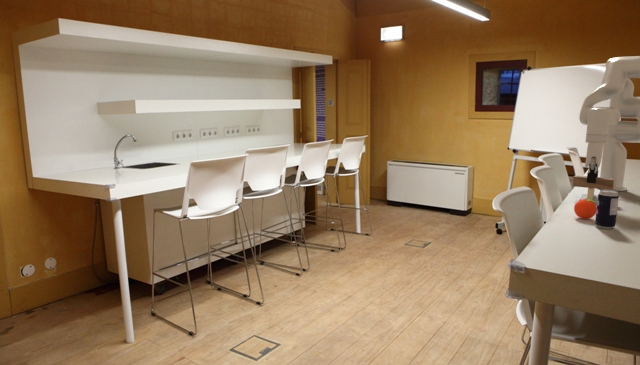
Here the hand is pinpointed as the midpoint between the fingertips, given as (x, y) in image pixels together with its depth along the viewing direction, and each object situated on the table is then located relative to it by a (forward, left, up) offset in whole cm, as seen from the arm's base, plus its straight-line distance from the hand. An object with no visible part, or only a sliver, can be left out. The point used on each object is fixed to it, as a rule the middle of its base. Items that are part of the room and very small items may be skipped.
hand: (592, 181), depth 187 cm
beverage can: (+42, +7, -9) cm, 43 cm away
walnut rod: (0, 0, -2) cm, 3 cm away
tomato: (+33, +1, -9) cm, 34 cm away
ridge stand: (-2, 0, -8) cm, 9 cm away
